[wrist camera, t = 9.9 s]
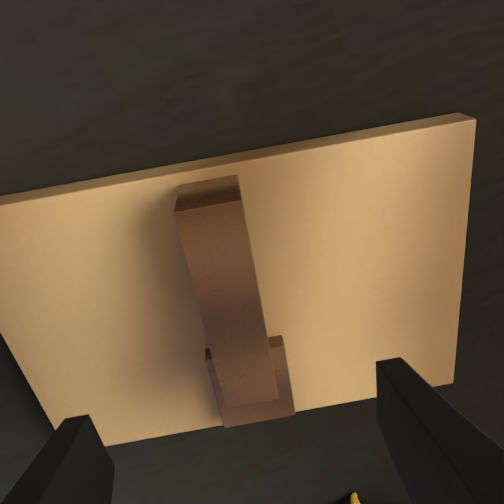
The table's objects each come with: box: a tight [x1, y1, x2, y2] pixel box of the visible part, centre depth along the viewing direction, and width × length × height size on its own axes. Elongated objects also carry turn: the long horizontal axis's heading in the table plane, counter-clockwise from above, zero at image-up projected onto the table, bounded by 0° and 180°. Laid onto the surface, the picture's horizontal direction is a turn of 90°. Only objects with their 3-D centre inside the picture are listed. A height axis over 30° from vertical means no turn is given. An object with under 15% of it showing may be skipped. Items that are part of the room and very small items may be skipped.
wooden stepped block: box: [173, 175, 296, 428], centre depth 16 cm, size 11×3×2 cm, turn 9°
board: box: [0, 113, 476, 446], centre depth 17 cm, size 18×12×1 cm, turn 99°
